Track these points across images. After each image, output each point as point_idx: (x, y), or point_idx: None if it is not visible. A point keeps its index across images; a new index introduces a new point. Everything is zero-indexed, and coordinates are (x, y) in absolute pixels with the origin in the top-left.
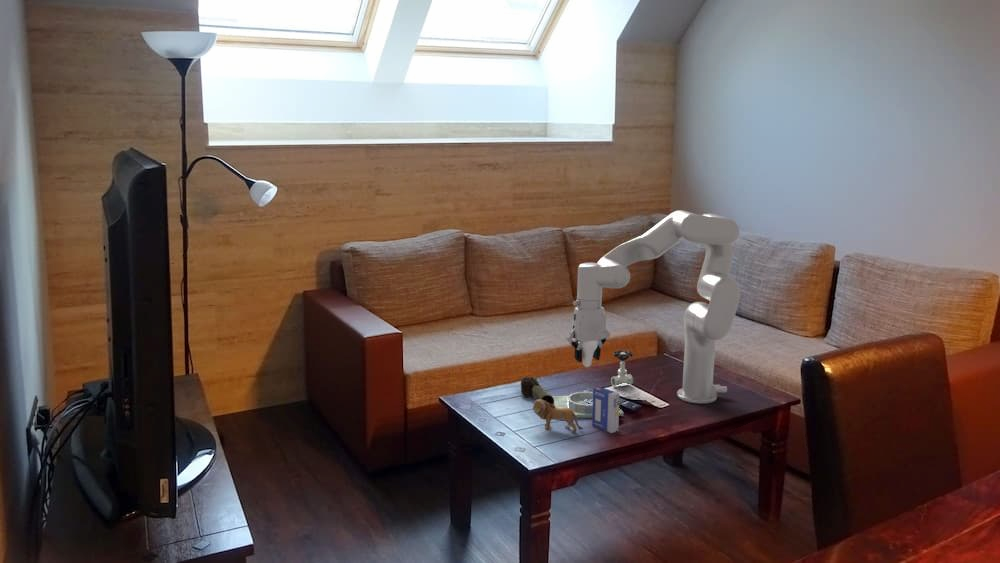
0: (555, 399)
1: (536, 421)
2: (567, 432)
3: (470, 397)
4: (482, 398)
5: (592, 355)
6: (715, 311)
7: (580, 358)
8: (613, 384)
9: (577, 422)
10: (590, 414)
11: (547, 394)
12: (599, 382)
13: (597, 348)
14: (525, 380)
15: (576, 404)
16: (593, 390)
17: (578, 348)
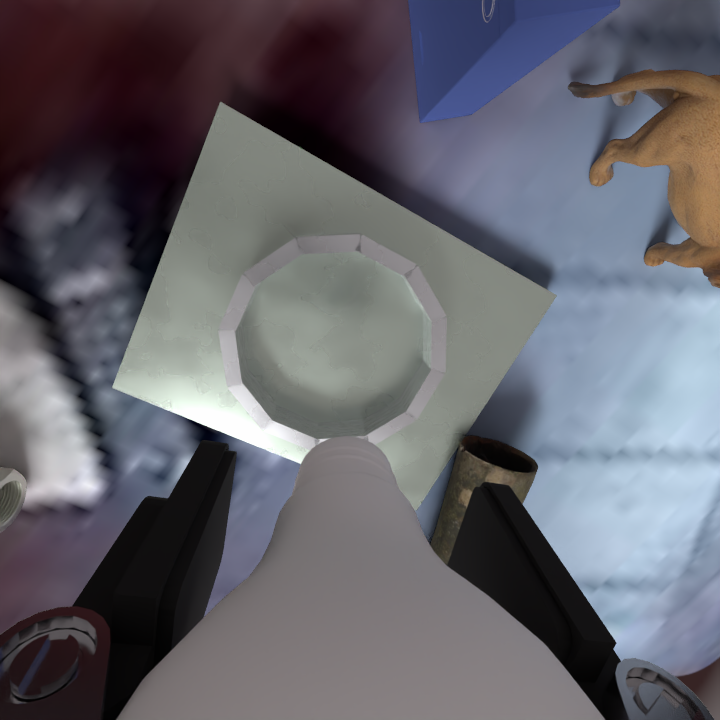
0: (424, 469)
1: (645, 328)
2: (642, 118)
3: (646, 645)
4: (621, 622)
5: (313, 511)
6: None
7: (525, 516)
8: (14, 497)
9: (633, 77)
10: (409, 211)
11: (503, 480)
12: (63, 562)
13: (175, 605)
14: None
15: (443, 311)
16: (607, 11)
17: (664, 705)
